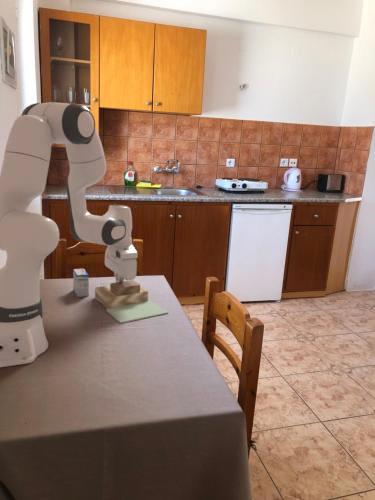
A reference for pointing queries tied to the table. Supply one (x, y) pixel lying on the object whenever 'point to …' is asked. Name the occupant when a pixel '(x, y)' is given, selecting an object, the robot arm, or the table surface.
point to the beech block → (119, 297)
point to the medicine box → (80, 282)
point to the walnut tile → (125, 288)
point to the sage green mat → (136, 311)
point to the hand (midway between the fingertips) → (119, 284)
